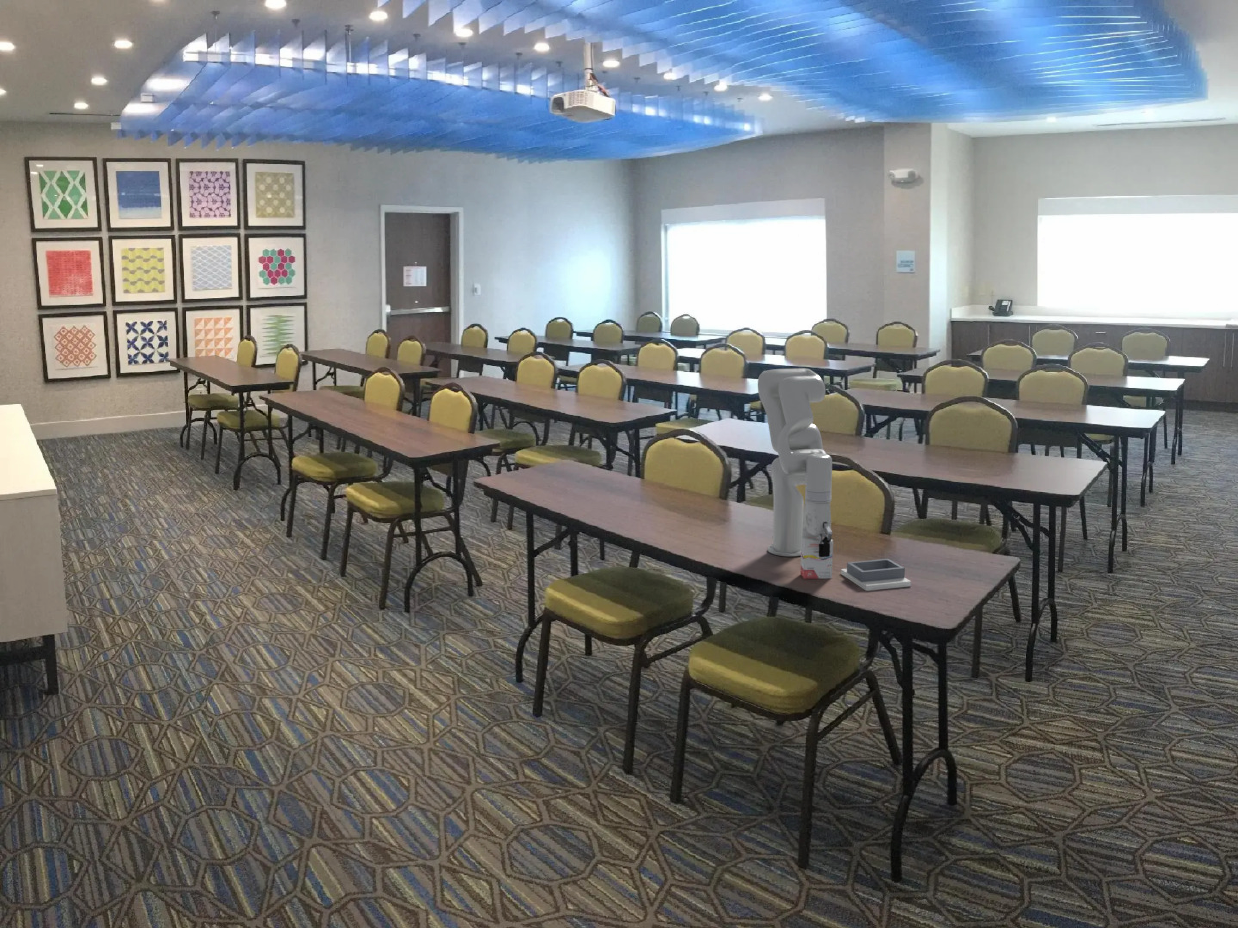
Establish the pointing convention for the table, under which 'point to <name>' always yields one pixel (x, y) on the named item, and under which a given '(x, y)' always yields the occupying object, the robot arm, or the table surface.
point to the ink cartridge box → (814, 558)
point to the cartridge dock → (876, 574)
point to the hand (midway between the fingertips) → (817, 552)
